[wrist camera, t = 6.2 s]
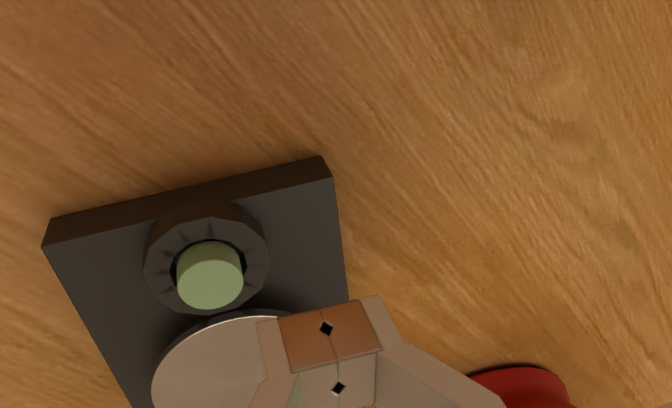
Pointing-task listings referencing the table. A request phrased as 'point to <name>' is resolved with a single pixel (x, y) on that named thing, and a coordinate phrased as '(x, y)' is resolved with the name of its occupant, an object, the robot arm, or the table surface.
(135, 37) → the table surface
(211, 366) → the scale pan
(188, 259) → the button
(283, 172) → the scale
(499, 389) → the table lamp
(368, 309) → the robot arm
